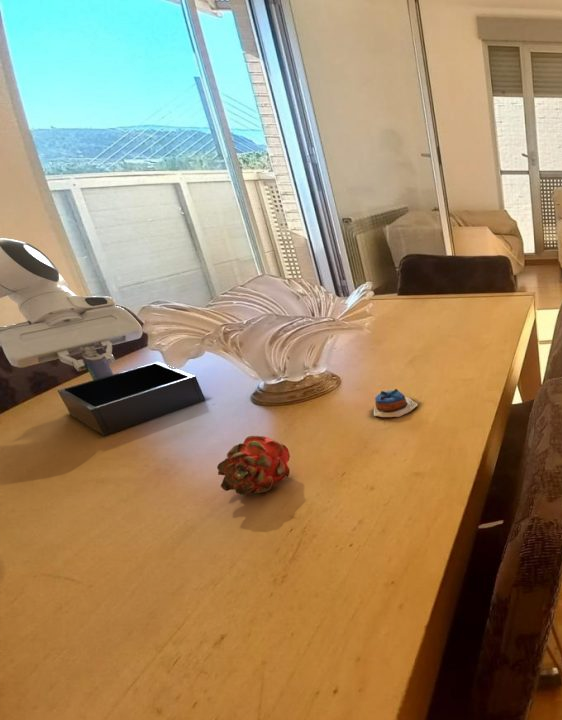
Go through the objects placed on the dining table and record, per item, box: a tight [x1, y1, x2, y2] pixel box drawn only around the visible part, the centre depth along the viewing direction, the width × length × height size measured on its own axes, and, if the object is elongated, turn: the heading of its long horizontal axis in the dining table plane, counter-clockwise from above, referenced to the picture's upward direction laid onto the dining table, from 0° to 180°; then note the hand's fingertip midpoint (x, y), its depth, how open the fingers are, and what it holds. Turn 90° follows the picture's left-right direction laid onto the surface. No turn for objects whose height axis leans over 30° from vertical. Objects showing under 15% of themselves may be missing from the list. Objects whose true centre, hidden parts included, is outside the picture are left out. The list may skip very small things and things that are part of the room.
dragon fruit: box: [216, 435, 291, 495], centre depth 71 cm, size 8×8×12 cm
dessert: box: [373, 388, 419, 418], centre depth 93 cm, size 8×7×6 cm
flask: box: [80, 346, 114, 380], centre depth 101 cm, size 9×3×11 cm, turn 57°
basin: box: [57, 361, 206, 437], centre depth 95 cm, size 16×18×6 cm
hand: (97, 365), depth 101 cm, fingers closed on flask, 3 cm apart
